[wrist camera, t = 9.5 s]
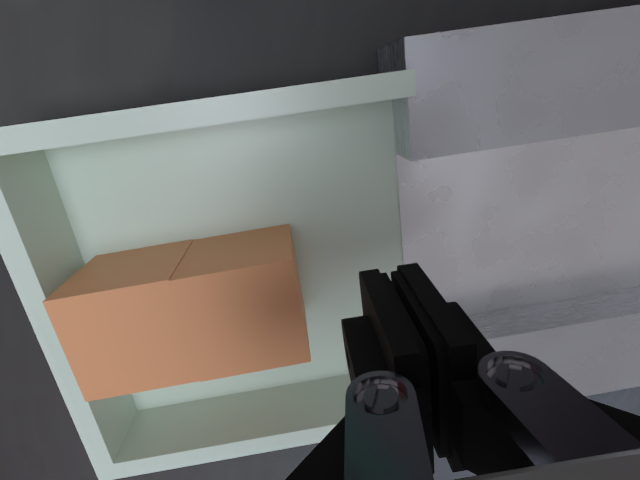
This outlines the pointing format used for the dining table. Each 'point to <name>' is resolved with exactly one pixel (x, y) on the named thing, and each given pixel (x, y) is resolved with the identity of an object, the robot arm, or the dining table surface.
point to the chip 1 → (123, 323)
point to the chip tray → (207, 221)
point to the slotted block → (529, 184)
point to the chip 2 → (242, 303)
